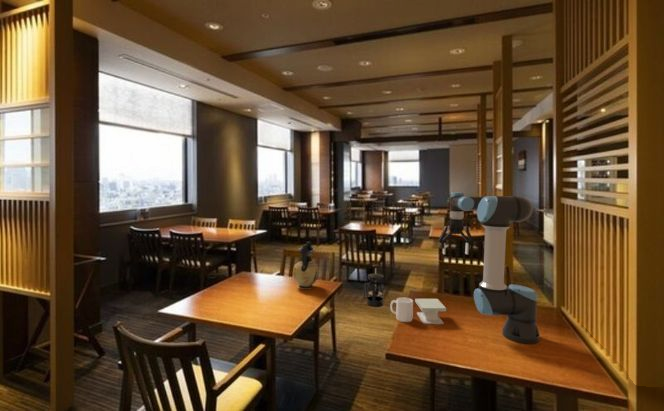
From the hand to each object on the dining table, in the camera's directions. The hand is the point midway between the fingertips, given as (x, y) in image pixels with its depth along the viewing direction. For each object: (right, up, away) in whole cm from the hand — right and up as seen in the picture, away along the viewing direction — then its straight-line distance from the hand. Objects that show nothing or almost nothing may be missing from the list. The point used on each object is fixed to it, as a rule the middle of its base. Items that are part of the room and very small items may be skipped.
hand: (455, 254), depth 210 cm
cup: (-37, -30, -27) cm, 55 cm away
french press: (-49, -28, -6) cm, 57 cm away
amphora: (-90, -26, +24) cm, 97 cm away
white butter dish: (-22, -30, -26) cm, 46 cm away
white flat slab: (-22, -23, -27) cm, 42 cm away
